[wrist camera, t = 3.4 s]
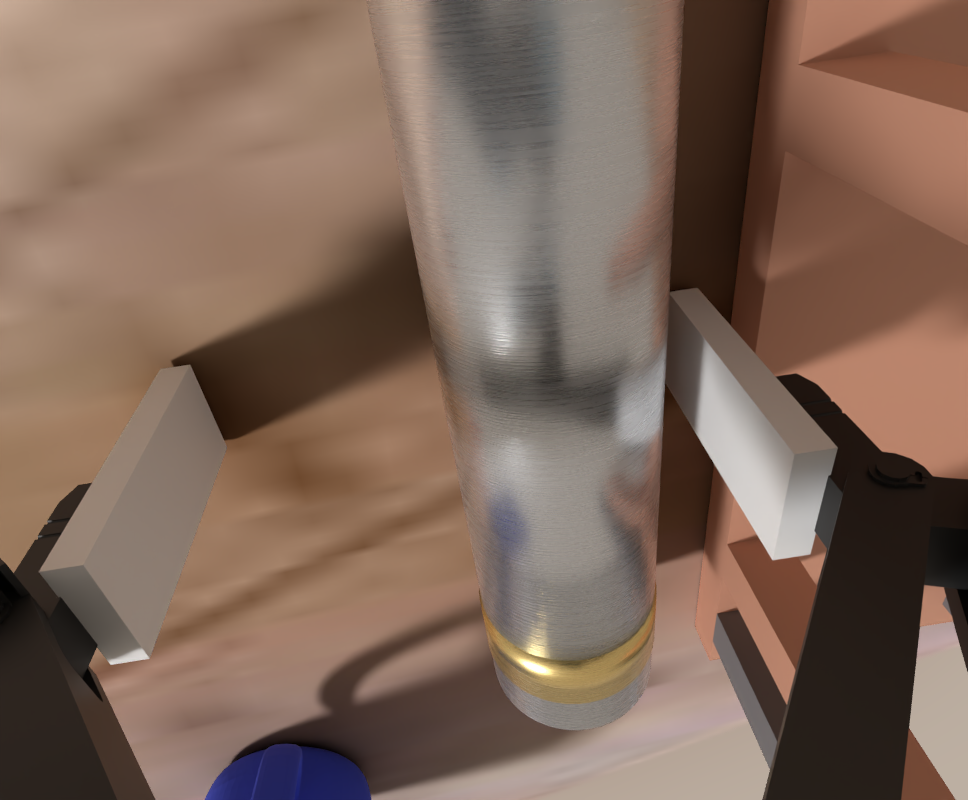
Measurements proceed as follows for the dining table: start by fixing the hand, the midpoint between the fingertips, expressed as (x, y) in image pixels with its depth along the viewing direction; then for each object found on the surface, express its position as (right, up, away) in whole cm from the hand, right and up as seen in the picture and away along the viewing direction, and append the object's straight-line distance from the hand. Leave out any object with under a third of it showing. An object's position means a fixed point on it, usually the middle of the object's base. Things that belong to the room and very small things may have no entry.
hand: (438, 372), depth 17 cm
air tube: (+1, 0, -1) cm, 1 cm away
